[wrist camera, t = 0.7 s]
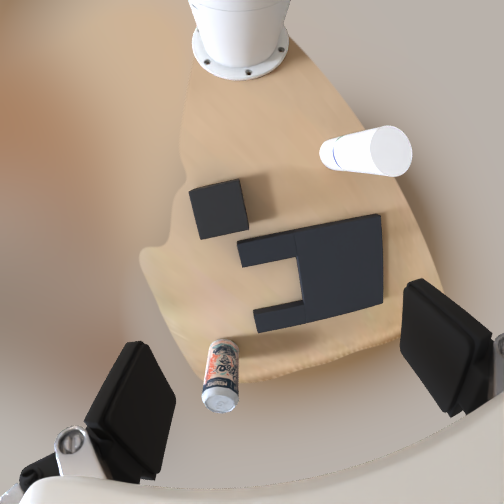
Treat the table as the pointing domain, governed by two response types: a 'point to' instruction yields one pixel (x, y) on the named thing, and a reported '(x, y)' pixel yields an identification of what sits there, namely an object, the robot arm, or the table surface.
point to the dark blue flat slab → (322, 269)
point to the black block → (219, 209)
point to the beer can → (221, 377)
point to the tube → (369, 152)
